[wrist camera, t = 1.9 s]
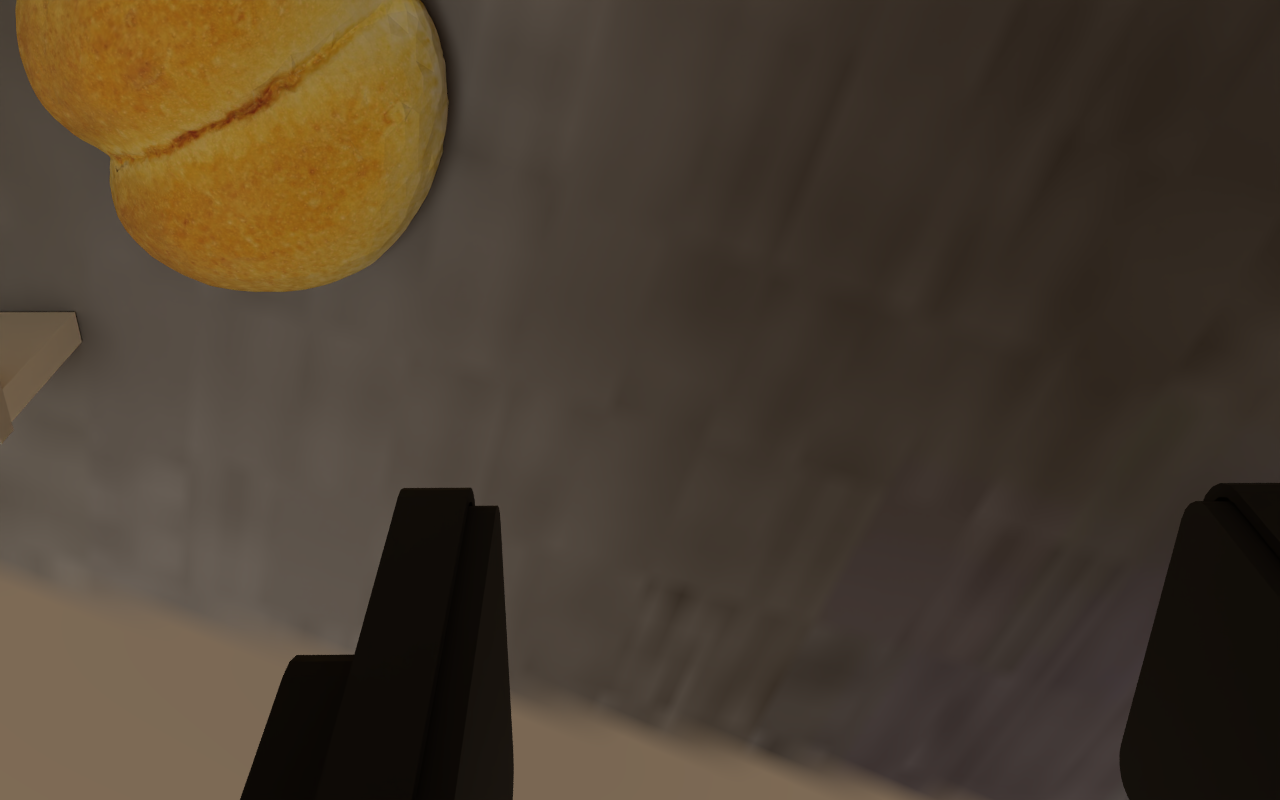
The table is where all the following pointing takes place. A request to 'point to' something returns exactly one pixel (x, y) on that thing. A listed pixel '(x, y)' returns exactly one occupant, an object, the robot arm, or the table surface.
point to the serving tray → (31, 357)
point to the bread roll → (250, 125)
